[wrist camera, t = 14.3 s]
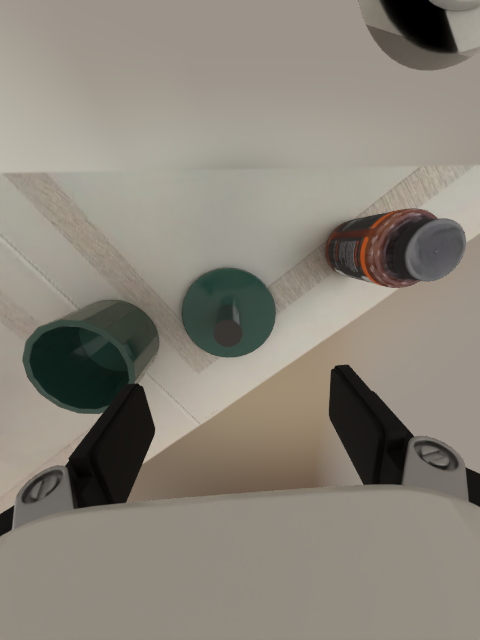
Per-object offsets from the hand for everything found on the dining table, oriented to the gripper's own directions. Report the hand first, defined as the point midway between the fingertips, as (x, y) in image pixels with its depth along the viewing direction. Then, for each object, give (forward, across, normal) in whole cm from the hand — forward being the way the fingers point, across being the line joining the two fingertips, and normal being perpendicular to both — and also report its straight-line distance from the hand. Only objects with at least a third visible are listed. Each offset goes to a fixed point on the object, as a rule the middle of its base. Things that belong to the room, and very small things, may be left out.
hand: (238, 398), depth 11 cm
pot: (+17, +15, +3) cm, 23 cm away
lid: (+16, +1, +1) cm, 16 cm away
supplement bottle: (+18, -13, -5) cm, 23 cm away
